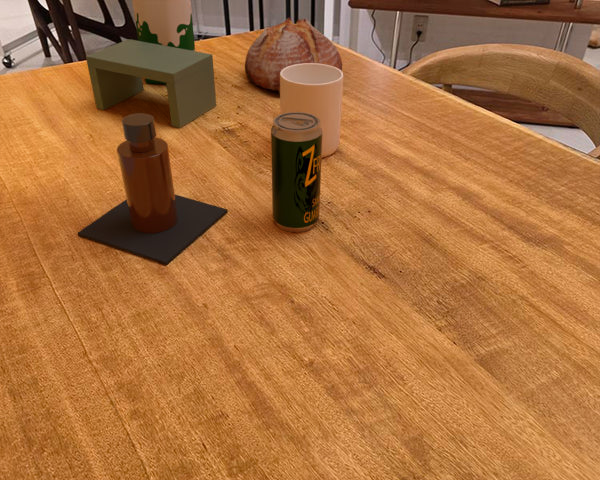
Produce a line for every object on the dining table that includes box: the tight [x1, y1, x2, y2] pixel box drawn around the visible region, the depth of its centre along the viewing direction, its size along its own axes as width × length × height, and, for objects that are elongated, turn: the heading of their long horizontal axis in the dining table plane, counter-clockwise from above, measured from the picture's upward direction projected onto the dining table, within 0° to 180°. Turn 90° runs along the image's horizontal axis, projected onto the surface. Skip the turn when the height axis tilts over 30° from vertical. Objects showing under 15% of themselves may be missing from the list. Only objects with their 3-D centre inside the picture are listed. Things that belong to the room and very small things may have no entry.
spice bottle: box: [116, 112, 178, 233], centre depth 63 cm, size 5×5×12 cm
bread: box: [244, 16, 343, 94], centre depth 102 cm, size 16×20×10 cm
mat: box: [77, 194, 229, 266], centre depth 67 cm, size 12×12×1 cm
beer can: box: [270, 112, 322, 233], centre depth 64 cm, size 5×5×12 cm
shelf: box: [85, 38, 217, 129], centre depth 91 cm, size 16×10×8 cm, turn 63°
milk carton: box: [131, 0, 196, 86], centre depth 98 cm, size 9×9×20 cm
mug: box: [279, 63, 344, 159], centre depth 82 cm, size 12×8×10 cm
